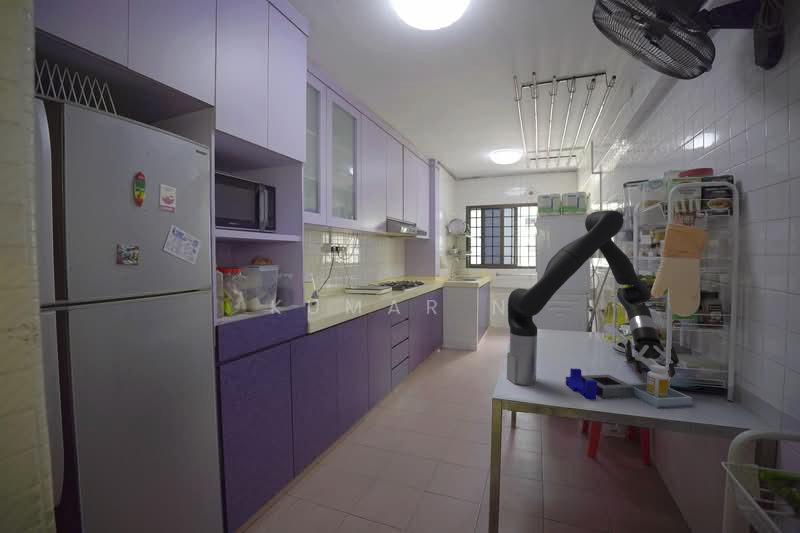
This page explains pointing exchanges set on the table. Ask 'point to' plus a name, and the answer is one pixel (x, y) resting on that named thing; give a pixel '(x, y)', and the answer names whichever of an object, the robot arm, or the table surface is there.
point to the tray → (672, 398)
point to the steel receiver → (610, 387)
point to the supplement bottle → (657, 381)
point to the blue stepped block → (582, 384)
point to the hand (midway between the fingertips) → (656, 374)
